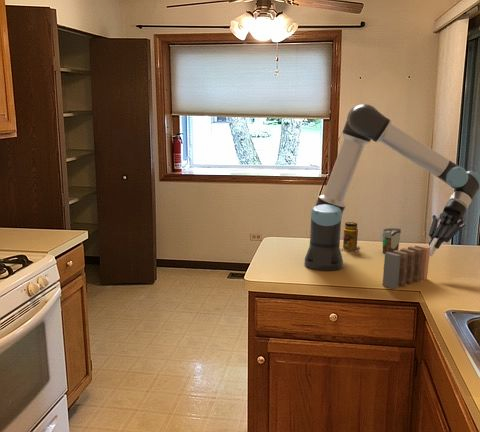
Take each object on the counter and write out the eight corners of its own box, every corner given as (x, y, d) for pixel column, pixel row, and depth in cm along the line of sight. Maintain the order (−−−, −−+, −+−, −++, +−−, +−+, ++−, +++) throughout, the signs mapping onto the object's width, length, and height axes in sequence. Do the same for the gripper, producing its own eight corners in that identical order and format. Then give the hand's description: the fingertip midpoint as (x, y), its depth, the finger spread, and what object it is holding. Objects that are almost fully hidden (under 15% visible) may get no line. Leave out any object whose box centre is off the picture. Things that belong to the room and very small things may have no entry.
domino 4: (416, 282, 193) (419, 250, 191) (405, 278, 197) (407, 247, 195) (420, 281, 195) (423, 249, 192) (408, 277, 198) (411, 246, 196)
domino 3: (409, 284, 190) (412, 252, 188) (397, 280, 194) (400, 248, 192) (412, 283, 192) (415, 251, 189) (401, 279, 196) (403, 248, 193)
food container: (385, 248, 240) (387, 226, 238) (399, 250, 236) (401, 228, 234) (375, 253, 230) (377, 231, 228) (389, 256, 226) (391, 233, 224)
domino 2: (402, 286, 188) (404, 253, 185) (390, 283, 192) (392, 250, 189) (405, 285, 189) (408, 253, 187) (393, 282, 193) (396, 249, 190)
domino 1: (394, 289, 185) (397, 255, 183) (382, 285, 189) (385, 252, 186) (397, 288, 186) (400, 255, 184) (385, 284, 190) (388, 251, 188)
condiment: (340, 250, 235) (342, 223, 232) (344, 245, 243) (345, 220, 240) (357, 252, 232) (358, 225, 230) (360, 247, 240) (362, 221, 238)
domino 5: (424, 279, 196) (427, 248, 194) (412, 276, 200) (415, 245, 197) (427, 278, 197) (430, 247, 195) (415, 275, 201) (418, 244, 199)
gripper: (476, 214, 204) (448, 263, 197) (444, 209, 214) (417, 255, 207) (470, 202, 200) (441, 251, 193) (438, 197, 210) (410, 244, 203)
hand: (429, 253), depth 200 cm, fingers closed
